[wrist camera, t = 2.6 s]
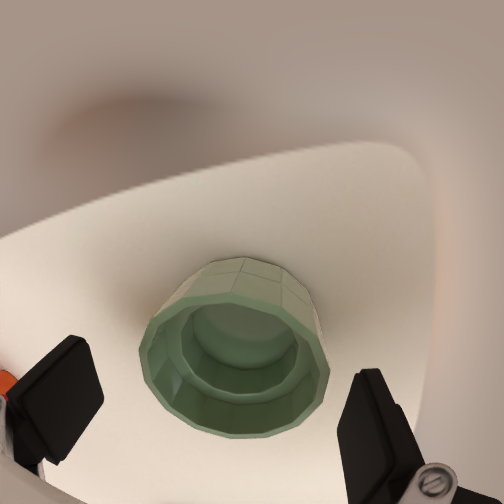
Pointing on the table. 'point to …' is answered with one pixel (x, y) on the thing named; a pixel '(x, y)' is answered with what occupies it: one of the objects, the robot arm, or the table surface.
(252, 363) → the bowl
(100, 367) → the table surface
